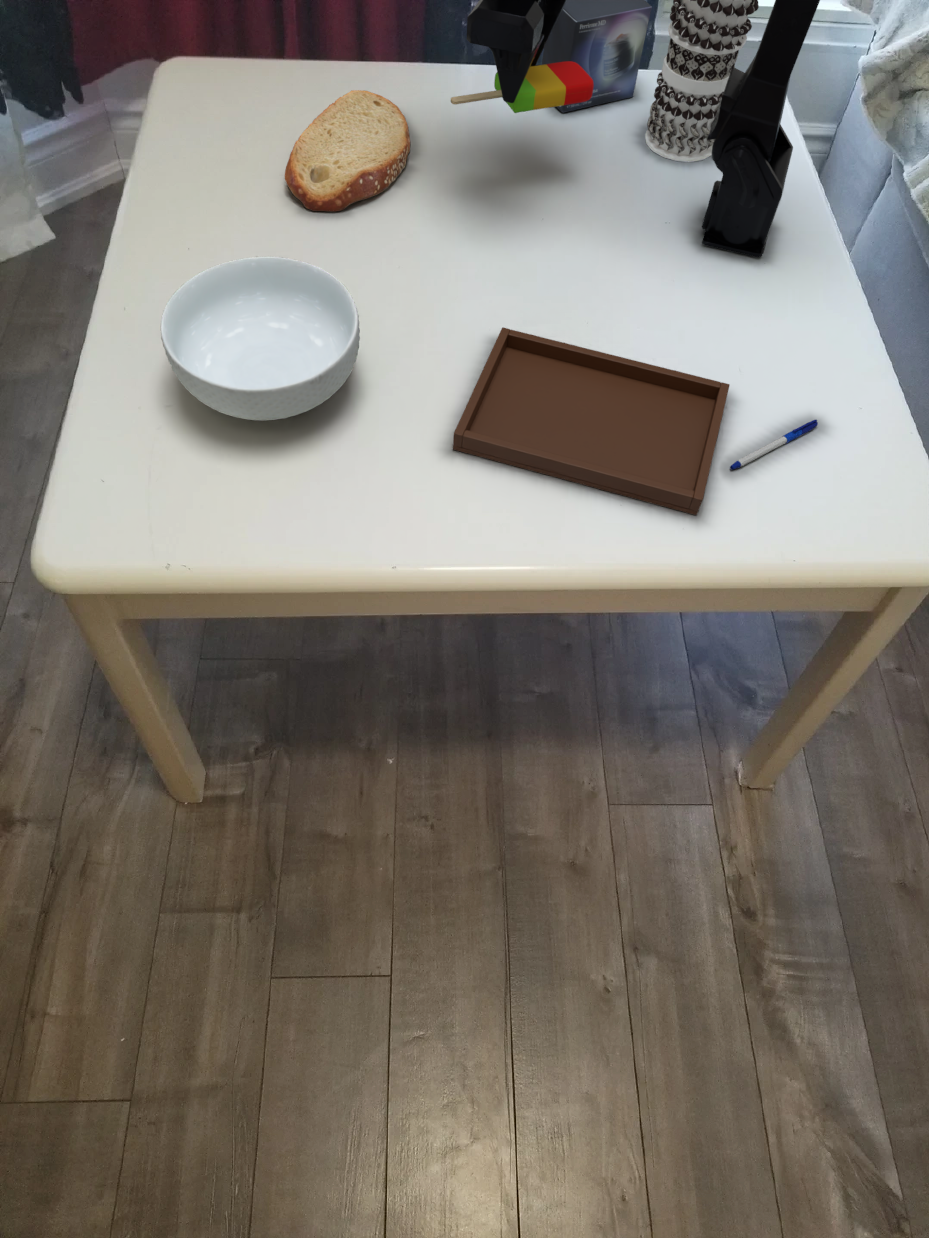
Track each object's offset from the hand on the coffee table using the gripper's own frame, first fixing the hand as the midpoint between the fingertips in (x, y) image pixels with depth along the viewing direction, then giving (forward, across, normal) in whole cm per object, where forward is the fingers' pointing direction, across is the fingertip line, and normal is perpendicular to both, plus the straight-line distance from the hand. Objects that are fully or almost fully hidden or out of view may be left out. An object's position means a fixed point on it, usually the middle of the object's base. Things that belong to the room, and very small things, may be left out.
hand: (519, 84), depth 93 cm
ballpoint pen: (+11, +30, +34) cm, 46 cm away
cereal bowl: (+11, +38, -11) cm, 41 cm away
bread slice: (+11, +2, -19) cm, 22 cm away
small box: (+11, -22, +3) cm, 25 cm away
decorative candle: (+11, -16, +16) cm, 25 cm away
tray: (+11, +33, +18) cm, 39 cm away
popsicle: (+2, 0, 0) cm, 2 cm away
